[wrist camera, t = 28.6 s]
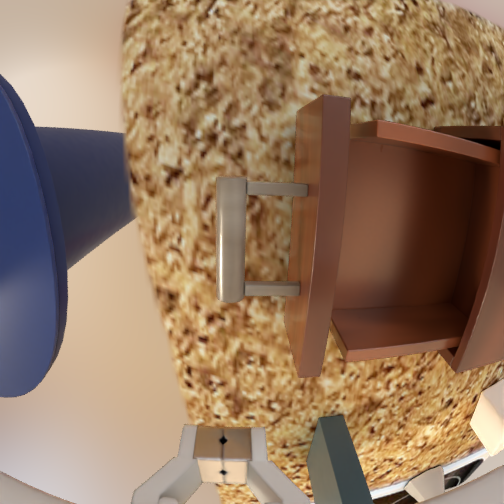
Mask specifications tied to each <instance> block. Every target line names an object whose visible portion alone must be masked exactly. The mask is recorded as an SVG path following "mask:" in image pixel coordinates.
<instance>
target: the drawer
mask: <svg viewBox="0 0 504 504" xmlns="http://www.w3.org/2000/svg"><path fill="white" fill-rule="evenodd" d="M350 114H351V98H347V97H340V96H333V95H325V94H323V95H321V96H320V97H318V98H317V99H315V100H313V101H312V102H310V103H309V104H307V105H306V106H304V107H303V108H301V109H299V110H298V111H297V115H296V144H295V168H294V182H270V181H247V177H244V176H218V177H217V178H216V291H217V298H218V300H220V301H222V302H226V303H235V302H239V301H241V300H242V299H243V298H244V295H245V296H286V305H285V316H284V323H285V327H286V331H287V335H288V339H289V343H290V347H291V351H292V355H293V359H294V363H295V367H296V371H297V375H298V378H304V377H319V376H320V374H321V370H322V365H323V360H324V354H325V349H326V344H327V338H328V333H329V328H330V331H331V333H332V335H333V337H334V339H335V341H336V343H337V345H338V347H339V350H340V352H341V354H342V356H343V358H344V360H345V362H352V361H362V360H372V359H380V358H389V357H396V356H404V355H411V354H417V353H424V352H430V351H435V350H441V349H447V348H452V347H457V346H459V344H460V342H461V339H462V336H463V334H464V331H465V328H466V325H467V322H468V319H469V316H470V313H471V310H472V307H473V304H474V301H475V297H476V294H477V291H478V287H479V283H480V280H481V276H482V272H483V268H484V264H485V260H486V255H487V251H488V246H489V241H490V236H491V231H492V225H493V219H494V213H495V206H496V198H497V190H498V180H499V168H500V152H501V151H500V150H497V149H494V148H491V147H488V146H485V145H482V144H479V143H475V142H472V141H469V140H465V139H462V138H458V137H455V136H451V135H447V134H443V133H440V132H436V131H431V130H427V129H423V128H419V127H414V126H410V125H405V124H400V123H395V122H390V121H384V120H379V119H378V120H372V121H367V122H361V123H356V124H350ZM247 195H267V196H293V207H292V224H291V239H290V254H289V268H288V281H245V239H246V199H247Z"/></svg>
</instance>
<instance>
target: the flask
mask: <svg viewBox="0 0 504 504" xmlns="http://www.w3.org/2000/svg"><path fill="white" fill-rule="evenodd" d="M404 489H405V490H406V491H407V492H408V493H409V494H410V495H411V496H413V497H414V498H415V499H416V500H417V501H418V502H422V501H425V500H427V499H430V498H433V497H435V496H438V495H441V494H443V493H445V491H444V471H443V468H442V467H441V466H438V467H436V468H433V469H431V470H428V471H426V472H424V473H422V474H421V475H419V476H417V477H416V478H414V479H412V480H410V481H409V483H408V484H407V486H406V487H405V488H404Z"/></svg>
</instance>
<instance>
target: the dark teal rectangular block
mask: <svg viewBox="0 0 504 504" xmlns="http://www.w3.org/2000/svg"><path fill="white" fill-rule="evenodd" d="M306 462H307V467H308V472H309V477H310V482H311V487H312V492H313V496H314V501H315V504H374V503H373V500H372V497H371V494H370V491H369V488H368V485H367V483H366V480H365V477H364V474H363V471H362V468H361V465H360V462H359V459H358V456H357V453H356V451H355V448H354V445H353V442H352V439H351V436H350V434H349V431H348V428H347V425H346V422H345V420H344V417H343V415H339V416H331V417H321V418H319V419H318V423H317V427H316V430H315V434H314V437H313V441H312V444H311V448H310V451H309V454H308V457H307V461H306Z"/></svg>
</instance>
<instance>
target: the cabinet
mask: <svg viewBox="0 0 504 504" xmlns="http://www.w3.org/2000/svg"><path fill="white" fill-rule="evenodd" d="M435 131H436V132H440V133H443V134H447V135H451V136H455V137H458V138H462V139H465V140H469V141H472V142H475V143H479V144H482V145H485V146H488V147H491V148H494V149H497V150H500V151H501V152H500V168H499V180H498V190H497V198H496V206H495V213H494V219H493V225H492V231H491V236H490V241H489V246H488V251H487V255H486V260H485V264H484V268H483V272H482V276H481V280H480V283H479V287H478V291H477V294H476V297H475V301H474V304H473V307H472V310H471V313H470V316H469V319H468V322H467V325H466V328H465V331H464V334H463V336H462V339H461V342H460V344H459V346H457V347H452V348H447V349H441V350H437V351H438V352H439V354H440V355H441V356H442V357H443V358H444V359H445V361H446V362H447V363H448V364H449V365H450V366H451V368H452V369H453V370H454V372H455V373H459V372H463V371H467V370H471V369H474V368H478V367H481V366H485V365H488V364H491V363H494V362H498V361H501V360H504V126H502V127H501V126H440V127H435Z"/></svg>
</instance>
